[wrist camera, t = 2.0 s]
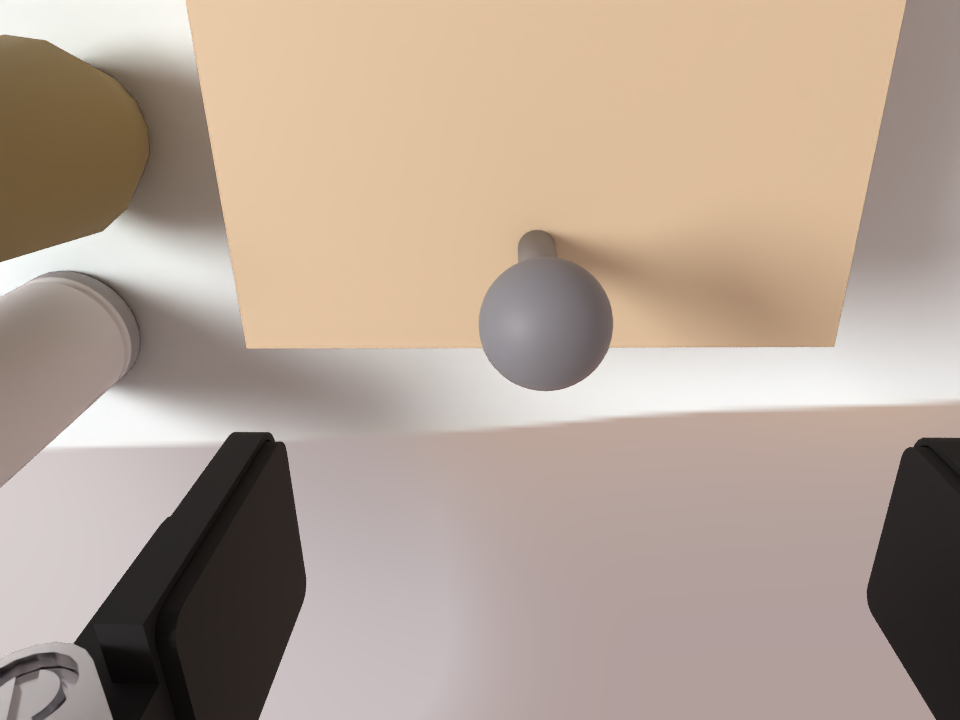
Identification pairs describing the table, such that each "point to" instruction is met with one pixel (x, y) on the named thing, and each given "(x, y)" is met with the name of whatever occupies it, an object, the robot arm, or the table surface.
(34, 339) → the travel mug
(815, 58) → the lid flap
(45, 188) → the squeeze bottle
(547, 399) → the table surface
